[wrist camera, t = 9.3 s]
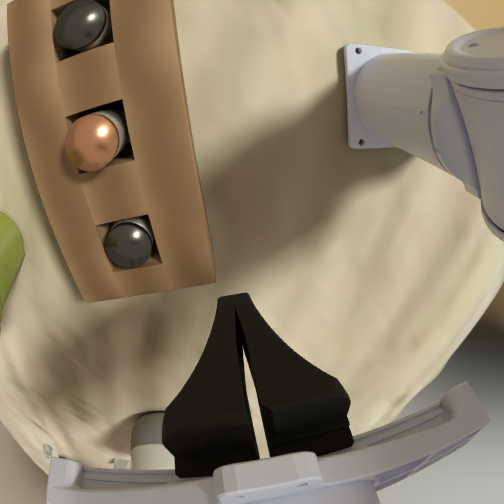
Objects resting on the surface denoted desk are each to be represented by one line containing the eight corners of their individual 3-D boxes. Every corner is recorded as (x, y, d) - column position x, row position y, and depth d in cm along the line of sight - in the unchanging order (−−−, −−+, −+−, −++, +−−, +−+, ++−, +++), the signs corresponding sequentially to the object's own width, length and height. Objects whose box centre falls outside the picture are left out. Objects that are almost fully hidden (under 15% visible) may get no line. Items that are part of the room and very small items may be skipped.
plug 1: (117, 5, 13) (101, -8, 10) (122, 44, 15) (106, 38, 12) (75, 19, 13) (52, 11, 10) (79, 58, 14) (56, 56, 11)
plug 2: (151, 199, 20) (143, 222, 17) (161, 236, 22) (156, 263, 19) (112, 208, 20) (99, 231, 17) (124, 243, 22) (114, 271, 19)
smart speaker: (123, 423, 37) (119, 509, 25) (148, 398, 34) (147, 501, 22) (178, 439, 41) (184, 518, 29) (210, 417, 38) (222, 509, 26)
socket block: (169, -34, 13) (164, -56, 9) (213, 251, 24) (216, 282, 21) (35, 11, 12) (7, 4, 8) (97, 272, 24) (85, 303, 20)
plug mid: (126, 102, 16) (110, 108, 13) (135, 148, 17) (122, 163, 14) (82, 115, 15) (59, 124, 12) (92, 159, 17) (72, 177, 14)
